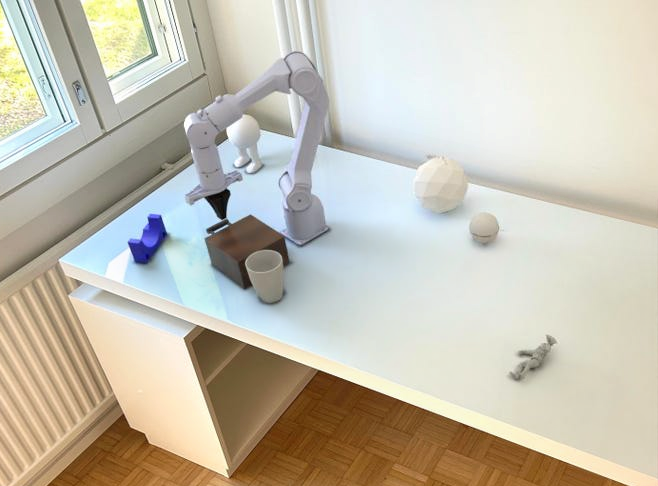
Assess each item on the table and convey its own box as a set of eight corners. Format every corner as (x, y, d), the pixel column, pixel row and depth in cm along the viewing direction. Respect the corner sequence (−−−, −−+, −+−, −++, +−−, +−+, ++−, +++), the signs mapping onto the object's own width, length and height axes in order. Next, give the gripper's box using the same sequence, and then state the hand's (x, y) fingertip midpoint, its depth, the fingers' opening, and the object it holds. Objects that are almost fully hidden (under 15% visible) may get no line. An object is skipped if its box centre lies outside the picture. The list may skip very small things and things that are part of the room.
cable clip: (151, 232, 188) (144, 213, 184) (167, 234, 187) (160, 214, 183) (129, 261, 180) (121, 241, 176) (146, 263, 179) (138, 243, 175)
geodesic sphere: (390, 185, 189) (414, 156, 177) (426, 162, 197) (451, 132, 185) (426, 231, 190) (453, 205, 178) (460, 206, 198) (488, 180, 185)
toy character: (228, 166, 210) (216, 117, 199) (252, 153, 215) (242, 105, 204) (249, 177, 206) (238, 127, 195) (273, 163, 210) (263, 114, 200)
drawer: (199, 251, 181) (193, 230, 176) (240, 229, 186) (235, 208, 182) (240, 281, 172) (235, 260, 167) (281, 257, 178) (277, 236, 173)
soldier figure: (500, 373, 151) (529, 329, 155) (517, 388, 152) (545, 343, 156) (521, 371, 144) (550, 324, 148) (538, 386, 145) (567, 339, 149)
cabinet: (212, 265, 178) (204, 238, 172) (256, 240, 184) (250, 214, 179) (244, 289, 171) (237, 262, 165) (289, 262, 178) (284, 236, 172)
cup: (295, 288, 171) (288, 253, 164) (279, 310, 165) (271, 275, 158) (263, 281, 173) (256, 247, 166) (247, 303, 167) (238, 268, 160)
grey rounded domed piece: (463, 244, 181) (463, 219, 175) (476, 228, 185) (477, 203, 180) (500, 255, 177) (502, 230, 172) (513, 238, 182) (514, 213, 176)
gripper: (225, 148, 171) (237, 198, 181) (171, 173, 164) (186, 223, 174) (243, 159, 168) (254, 209, 177) (188, 184, 161) (203, 235, 170)
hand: (222, 217), depth 175 cm, fingers closed
